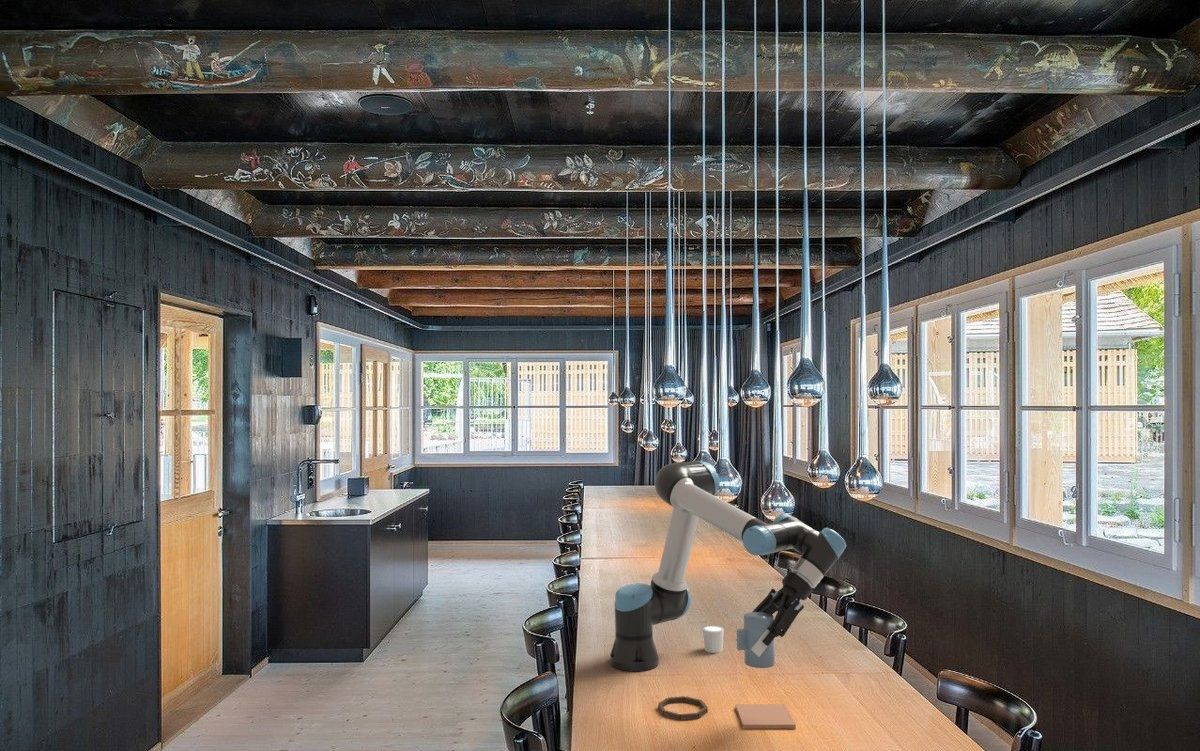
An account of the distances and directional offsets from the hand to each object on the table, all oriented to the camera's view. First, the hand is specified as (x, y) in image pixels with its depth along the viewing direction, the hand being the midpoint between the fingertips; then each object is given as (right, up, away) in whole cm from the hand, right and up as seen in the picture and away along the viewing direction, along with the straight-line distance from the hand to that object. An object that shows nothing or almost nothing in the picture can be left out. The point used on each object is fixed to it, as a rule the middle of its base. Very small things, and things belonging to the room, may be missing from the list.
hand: (747, 648), depth 200 cm
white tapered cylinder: (-1, -20, +55) cm, 58 cm away
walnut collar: (-16, -18, +6) cm, 25 cm away
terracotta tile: (+5, -18, 0) cm, 19 cm away
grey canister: (+2, -4, 0) cm, 5 cm away
